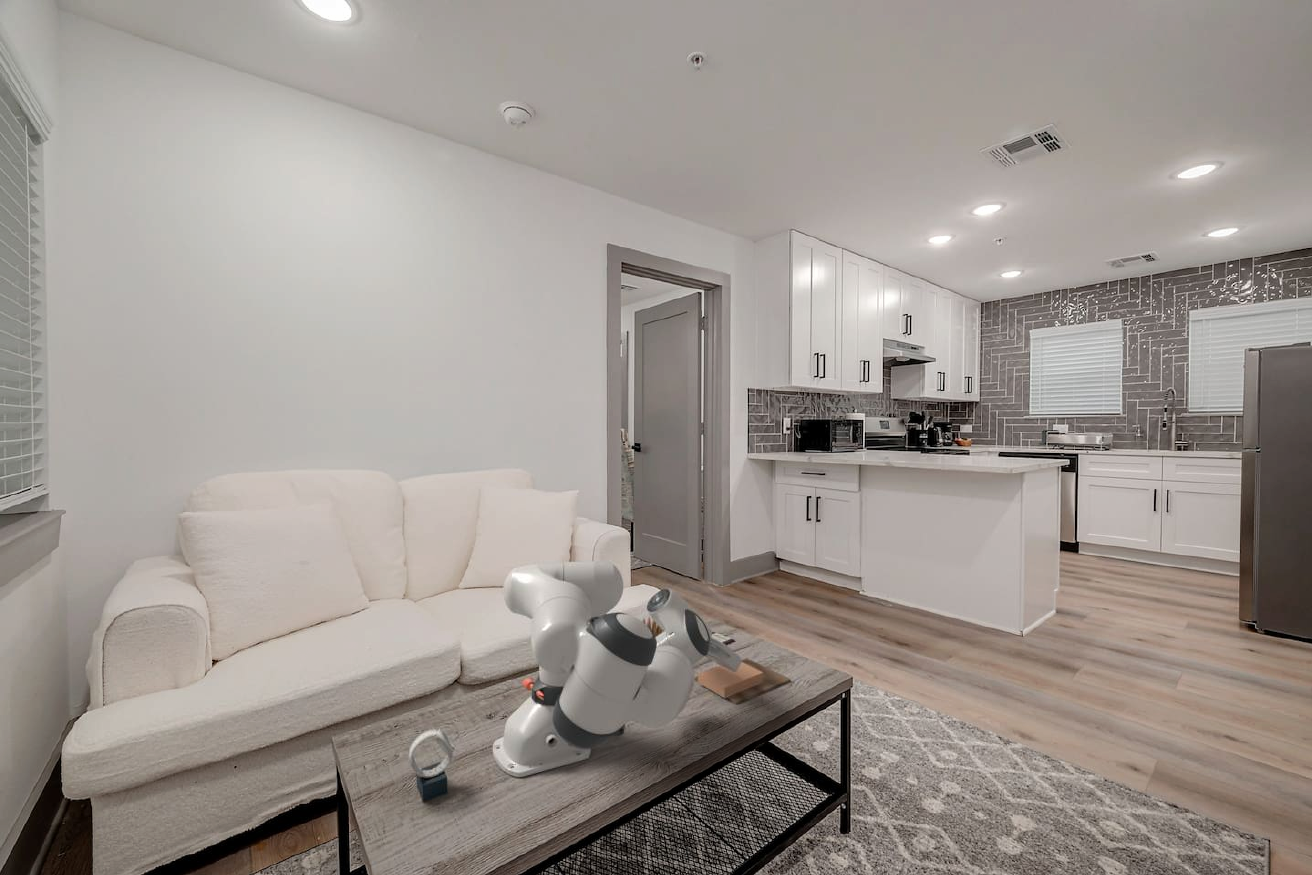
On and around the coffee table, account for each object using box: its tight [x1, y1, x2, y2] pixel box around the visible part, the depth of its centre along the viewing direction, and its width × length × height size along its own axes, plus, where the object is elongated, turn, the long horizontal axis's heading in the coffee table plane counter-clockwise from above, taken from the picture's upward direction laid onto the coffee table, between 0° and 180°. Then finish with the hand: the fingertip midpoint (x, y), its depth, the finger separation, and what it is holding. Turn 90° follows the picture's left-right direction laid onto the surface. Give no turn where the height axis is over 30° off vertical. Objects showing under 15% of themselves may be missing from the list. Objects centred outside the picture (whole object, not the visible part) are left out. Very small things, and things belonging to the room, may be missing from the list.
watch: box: [408, 728, 455, 803], centre depth 104 cm, size 6×8×11 cm
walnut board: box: [694, 658, 791, 705], centre depth 147 cm, size 20×16×1 cm
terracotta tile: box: [697, 662, 763, 699], centre depth 145 cm, size 3×10×14 cm
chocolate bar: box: [711, 631, 736, 646], centre depth 171 cm, size 9×1×18 cm
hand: (722, 662), depth 143 cm, fingers closed
